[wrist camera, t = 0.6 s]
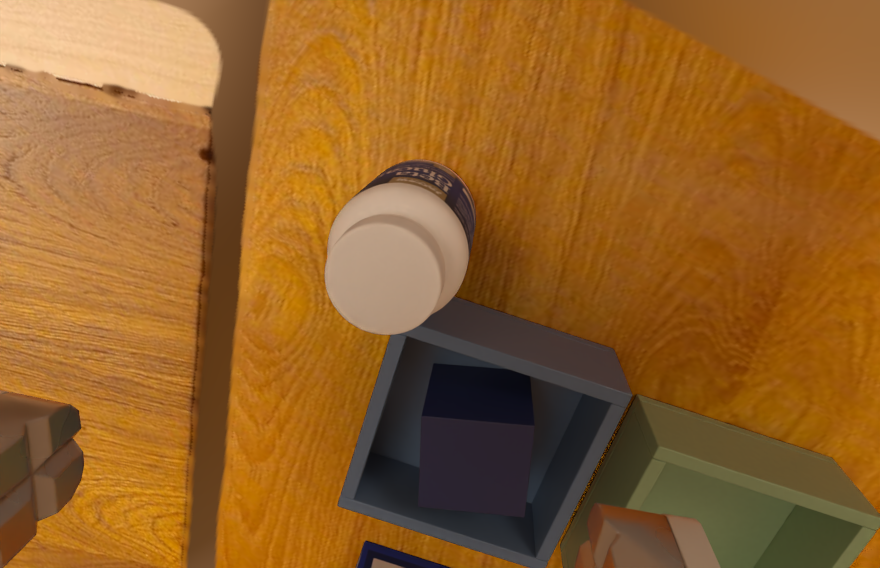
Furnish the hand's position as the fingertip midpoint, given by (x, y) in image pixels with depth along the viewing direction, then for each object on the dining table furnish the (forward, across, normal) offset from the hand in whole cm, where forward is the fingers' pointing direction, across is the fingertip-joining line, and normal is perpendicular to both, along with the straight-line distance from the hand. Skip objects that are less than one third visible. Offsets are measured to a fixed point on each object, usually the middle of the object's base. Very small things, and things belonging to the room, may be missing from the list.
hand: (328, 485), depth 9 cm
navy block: (+20, -3, +10) cm, 23 cm away
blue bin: (+20, -3, +10) cm, 23 cm away
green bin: (+20, -16, +14) cm, 30 cm away
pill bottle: (+21, +1, +1) cm, 21 cm away
